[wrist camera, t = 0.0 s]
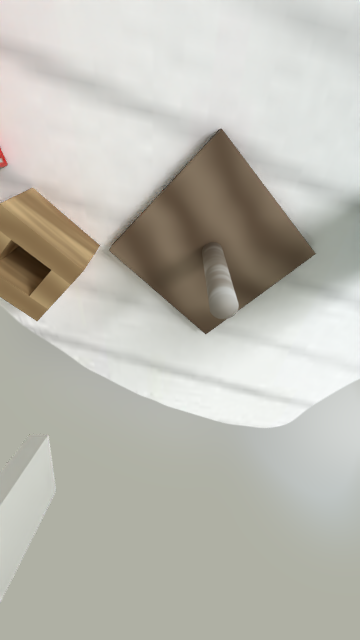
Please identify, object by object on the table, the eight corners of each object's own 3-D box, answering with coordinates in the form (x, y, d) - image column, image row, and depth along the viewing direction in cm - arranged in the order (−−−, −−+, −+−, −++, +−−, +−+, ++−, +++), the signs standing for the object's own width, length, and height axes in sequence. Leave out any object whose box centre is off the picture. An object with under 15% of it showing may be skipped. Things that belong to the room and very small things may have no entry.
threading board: (220, 128, 29) (243, 136, 18) (311, 248, 36) (368, 309, 25) (111, 245, 36) (79, 304, 25) (205, 327, 42) (212, 403, 31)
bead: (32, 187, 32) (-1, 203, 26) (99, 245, 36) (83, 270, 30) (-6, 243, 36) (-43, 268, 30) (58, 291, 39) (37, 321, 34)
